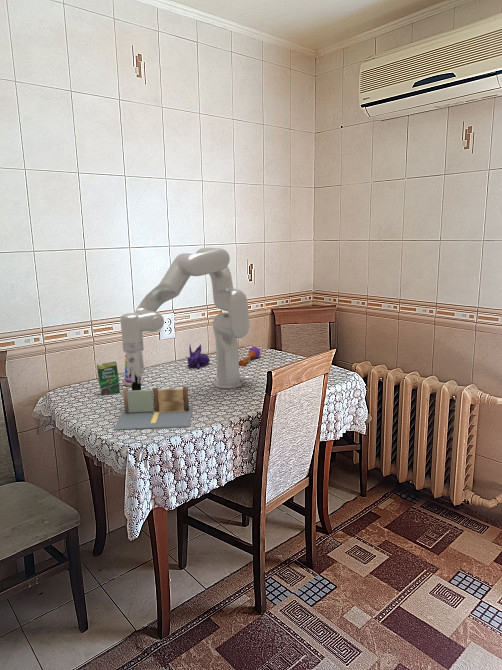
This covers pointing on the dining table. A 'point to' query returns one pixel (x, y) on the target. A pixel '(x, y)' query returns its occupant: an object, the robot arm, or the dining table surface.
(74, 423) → the dining table surface
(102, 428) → the dining table surface
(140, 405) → the fence gate
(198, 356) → the creature
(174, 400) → the fence fixed
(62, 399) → the dining table surface
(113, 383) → the coffee box
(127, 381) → the stacking toy
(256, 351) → the kendama
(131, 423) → the card
